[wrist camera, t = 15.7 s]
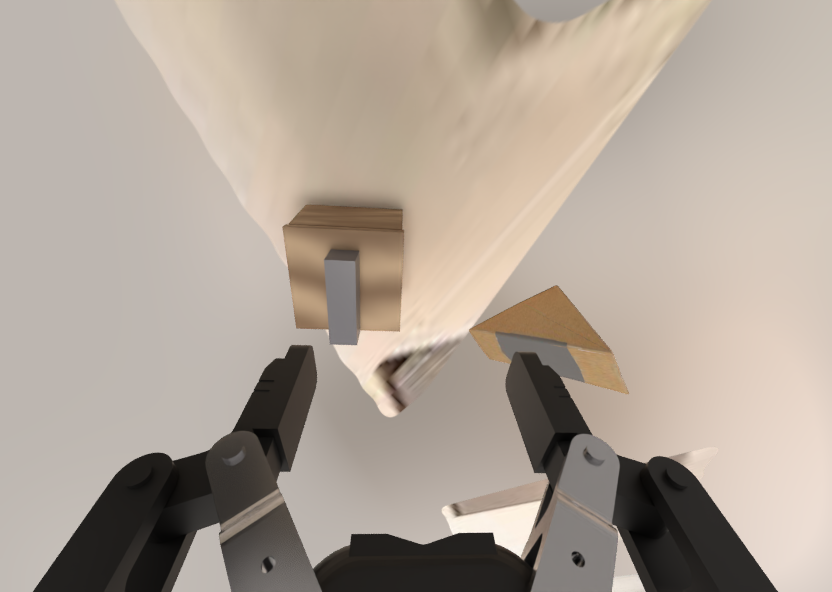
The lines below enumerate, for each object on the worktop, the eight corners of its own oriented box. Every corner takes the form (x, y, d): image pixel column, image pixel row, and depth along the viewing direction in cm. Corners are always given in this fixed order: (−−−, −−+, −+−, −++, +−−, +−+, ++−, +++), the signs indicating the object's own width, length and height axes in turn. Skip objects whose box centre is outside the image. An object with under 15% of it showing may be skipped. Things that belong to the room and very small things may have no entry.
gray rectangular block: (330, 249, 33) (323, 259, 30) (359, 250, 33) (355, 261, 30) (335, 328, 37) (329, 344, 34) (360, 329, 37) (356, 345, 35)
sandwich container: (466, 328, 50) (487, 405, 38) (556, 283, 46) (613, 352, 34) (489, 360, 54) (515, 439, 42) (574, 320, 50) (631, 395, 38)
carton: (306, 204, 39) (288, 223, 33) (402, 209, 39) (401, 229, 33) (316, 286, 45) (303, 315, 39) (399, 289, 46) (398, 318, 40)
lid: (285, 224, 32) (282, 226, 32) (403, 230, 33) (403, 232, 32) (298, 323, 38) (296, 328, 37) (399, 326, 39) (399, 331, 38)
